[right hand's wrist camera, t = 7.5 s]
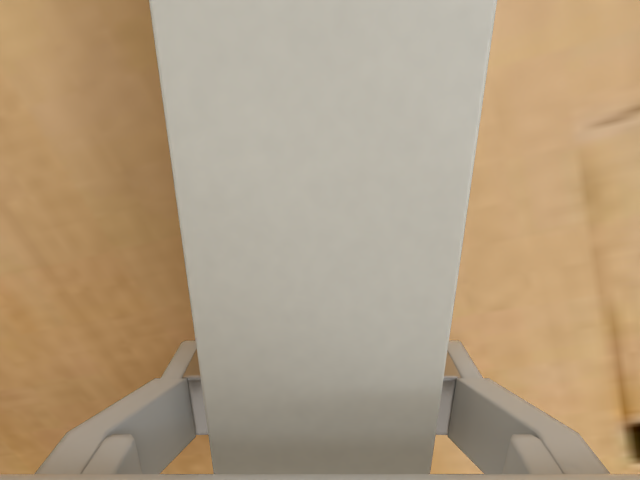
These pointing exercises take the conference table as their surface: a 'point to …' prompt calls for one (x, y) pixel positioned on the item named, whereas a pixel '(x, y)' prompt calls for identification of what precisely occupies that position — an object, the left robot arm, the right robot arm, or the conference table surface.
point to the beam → (322, 218)
